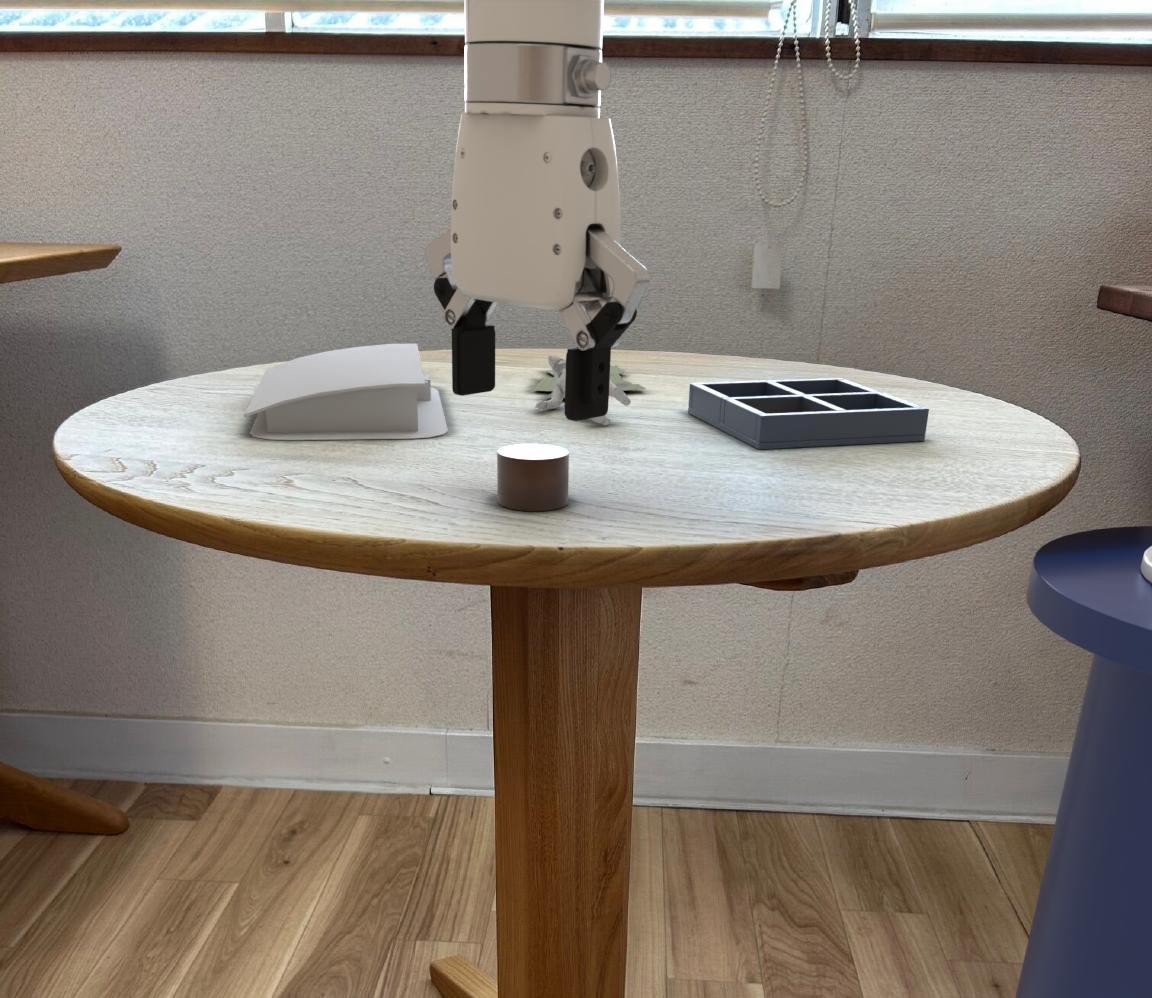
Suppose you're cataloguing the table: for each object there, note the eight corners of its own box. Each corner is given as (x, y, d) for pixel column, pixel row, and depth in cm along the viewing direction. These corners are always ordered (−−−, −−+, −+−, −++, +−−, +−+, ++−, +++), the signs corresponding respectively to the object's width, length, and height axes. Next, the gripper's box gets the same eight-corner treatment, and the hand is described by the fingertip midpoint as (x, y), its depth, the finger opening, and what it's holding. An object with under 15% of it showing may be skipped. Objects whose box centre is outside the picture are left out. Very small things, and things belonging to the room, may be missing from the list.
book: (436, 385, 114) (435, 341, 113) (449, 438, 94) (448, 385, 92) (268, 386, 112) (264, 341, 110) (245, 440, 92) (239, 387, 90)
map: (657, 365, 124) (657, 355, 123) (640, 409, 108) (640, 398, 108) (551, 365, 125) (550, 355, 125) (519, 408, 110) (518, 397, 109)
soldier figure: (563, 441, 99) (502, 370, 106) (594, 473, 102) (532, 403, 110) (635, 371, 97) (567, 305, 104) (663, 407, 101) (596, 340, 108)
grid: (924, 441, 97) (929, 408, 96) (758, 449, 93) (761, 415, 92) (837, 406, 109) (840, 377, 108) (687, 412, 105) (689, 382, 104)
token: (577, 508, 77) (578, 457, 75) (507, 513, 75) (507, 461, 74) (556, 491, 80) (557, 442, 79) (490, 495, 79) (489, 445, 78)
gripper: (698, 91, 65) (675, 420, 73) (475, 90, 75) (476, 378, 83) (605, 83, 60) (591, 437, 68) (379, 83, 70) (390, 390, 78)
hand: (528, 404), depth 75 cm, fingers open, 9 cm apart
